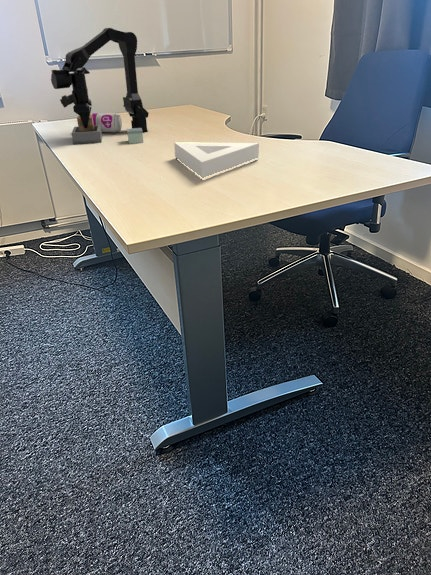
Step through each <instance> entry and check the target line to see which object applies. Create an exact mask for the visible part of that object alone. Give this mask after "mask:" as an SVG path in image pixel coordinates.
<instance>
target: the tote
mask: <svg viewBox="0 0 431 575" xmlns="http://www.w3.org/2000/svg"><path fill="white" fill-rule="evenodd" d="M71 138H72V143H73V145H84V144H85V145H87V144H100V143H102V140H103V132H102V130H101V125H95V126H94V130H89V131H79V127H78V126H74V127H73V129H72V131H71Z"/></svg>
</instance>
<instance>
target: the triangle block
mask: <svg viewBox="0 0 431 575" xmlns="http://www.w3.org/2000/svg"><path fill="white" fill-rule="evenodd" d="M173 145H174V158H175V157H176V158H177V159H179V160H180V161H181V162H182V163H184V164H185V165H186V166H188V167H189V168H190V169H192V170H193V171H194V172H196V173H197V174H198V175H200V176H201V177H202V178H204V177H206V176H209V175H212V174H214V173H217V172H220V171H223V170H226V169H229V168H232V167H234V166H237V165H239V164H242V163H244V162H247V161H250V160H252V159H255V158H258V157H259V153H260V152H259V151H260V150H259V148H260V143H259V142H256V143H255V142H193V141H192V142H188V141H187V142H185V141H183V142H182V141H181V142H177V141H175V142H173ZM258 159H259V158H258Z"/></svg>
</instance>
